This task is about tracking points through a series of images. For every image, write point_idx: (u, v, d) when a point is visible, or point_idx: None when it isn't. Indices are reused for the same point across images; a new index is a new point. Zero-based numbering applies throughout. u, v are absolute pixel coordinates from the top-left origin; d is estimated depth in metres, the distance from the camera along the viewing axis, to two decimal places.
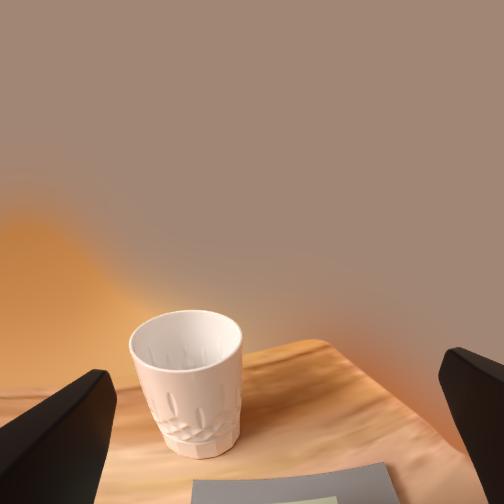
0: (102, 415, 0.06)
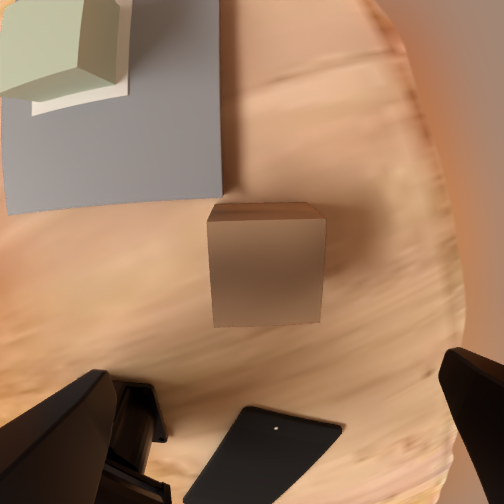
0: (102, 415, 0.06)
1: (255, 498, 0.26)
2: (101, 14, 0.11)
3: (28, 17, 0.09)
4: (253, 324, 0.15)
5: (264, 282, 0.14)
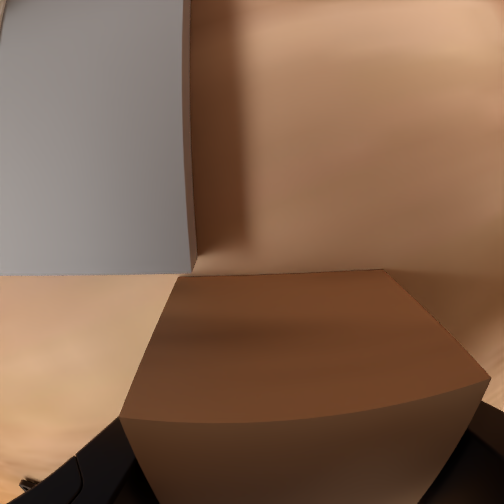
0: None
1: None
2: None
3: None
4: None
5: None
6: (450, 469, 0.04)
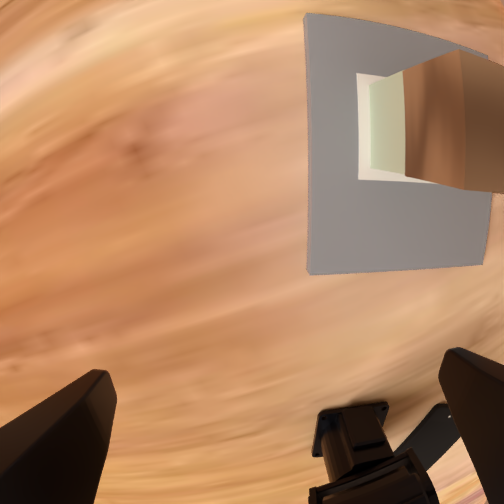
0: (102, 415, 0.06)
1: None
2: None
3: None
4: (498, 190, 0.09)
5: None
6: None
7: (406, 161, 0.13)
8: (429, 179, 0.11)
